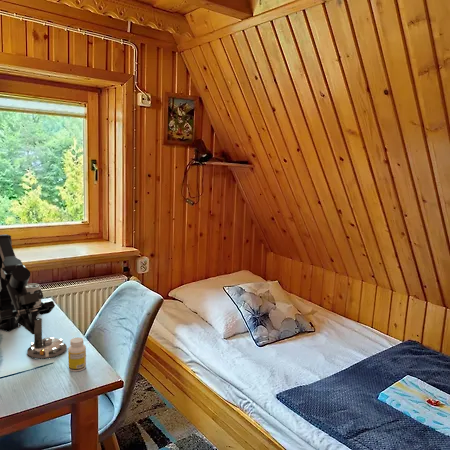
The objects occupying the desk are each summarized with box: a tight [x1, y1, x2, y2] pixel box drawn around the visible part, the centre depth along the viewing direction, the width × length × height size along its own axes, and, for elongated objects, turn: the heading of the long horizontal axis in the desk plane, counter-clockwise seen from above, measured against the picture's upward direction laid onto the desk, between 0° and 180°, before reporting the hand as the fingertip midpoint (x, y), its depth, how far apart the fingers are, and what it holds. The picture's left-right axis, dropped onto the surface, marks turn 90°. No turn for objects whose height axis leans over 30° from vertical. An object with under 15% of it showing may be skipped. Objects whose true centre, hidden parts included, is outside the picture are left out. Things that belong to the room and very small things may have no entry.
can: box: [26, 282, 42, 307], centre depth 184 cm, size 8×8×12 cm
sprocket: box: [30, 317, 64, 355], centre depth 149 cm, size 11×11×12 cm
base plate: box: [26, 342, 68, 360], centre depth 150 cm, size 13×13×4 cm
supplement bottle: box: [67, 337, 87, 373], centre depth 139 cm, size 5×5×10 cm
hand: (34, 333), depth 147 cm, fingers closed, pressing on sprocket
